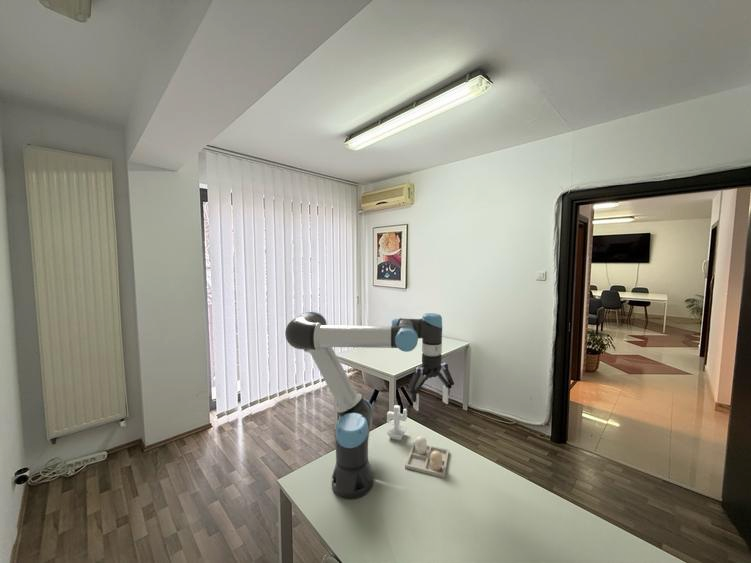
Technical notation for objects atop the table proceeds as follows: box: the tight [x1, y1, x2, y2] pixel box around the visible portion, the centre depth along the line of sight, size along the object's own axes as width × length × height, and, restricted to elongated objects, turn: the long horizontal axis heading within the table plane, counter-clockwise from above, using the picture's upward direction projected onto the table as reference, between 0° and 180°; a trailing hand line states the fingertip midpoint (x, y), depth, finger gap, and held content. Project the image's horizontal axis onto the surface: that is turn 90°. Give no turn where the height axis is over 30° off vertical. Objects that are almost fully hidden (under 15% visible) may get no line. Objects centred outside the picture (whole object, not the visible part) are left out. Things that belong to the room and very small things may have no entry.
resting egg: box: [414, 435, 427, 456], centre depth 122 cm, size 5×5×7 cm
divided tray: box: [404, 441, 450, 478], centre depth 117 cm, size 15×15×2 cm
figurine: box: [386, 404, 408, 441], centre depth 133 cm, size 7×9×15 cm
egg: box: [430, 451, 442, 472], centre depth 112 cm, size 5×5×7 cm
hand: (430, 405), depth 116 cm, fingers open, 13 cm apart
